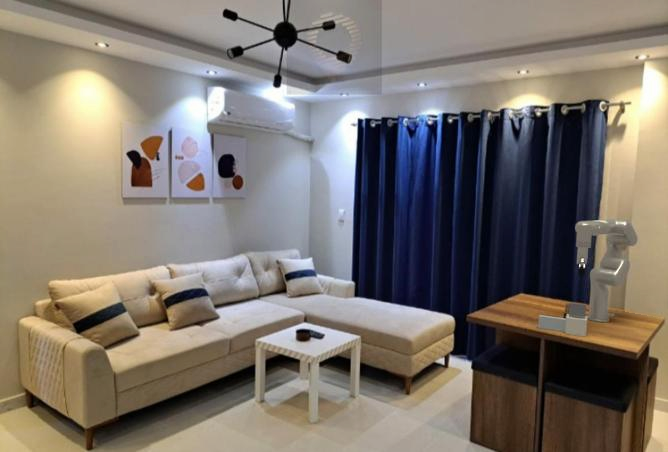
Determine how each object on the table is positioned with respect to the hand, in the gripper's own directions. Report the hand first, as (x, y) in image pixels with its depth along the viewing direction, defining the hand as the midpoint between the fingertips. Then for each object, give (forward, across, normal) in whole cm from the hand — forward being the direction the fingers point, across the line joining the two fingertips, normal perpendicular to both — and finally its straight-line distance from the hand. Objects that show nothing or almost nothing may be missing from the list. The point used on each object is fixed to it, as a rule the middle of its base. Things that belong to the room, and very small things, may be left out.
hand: (581, 274), depth 276 cm
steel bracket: (+25, +17, -1) cm, 30 cm away
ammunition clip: (+31, -2, -4) cm, 31 cm away
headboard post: (+30, +17, -8) cm, 36 cm away
